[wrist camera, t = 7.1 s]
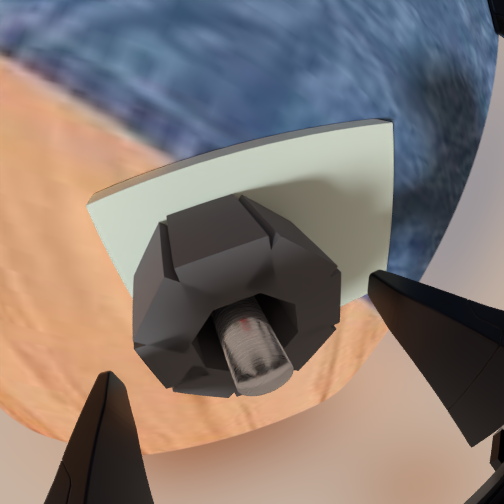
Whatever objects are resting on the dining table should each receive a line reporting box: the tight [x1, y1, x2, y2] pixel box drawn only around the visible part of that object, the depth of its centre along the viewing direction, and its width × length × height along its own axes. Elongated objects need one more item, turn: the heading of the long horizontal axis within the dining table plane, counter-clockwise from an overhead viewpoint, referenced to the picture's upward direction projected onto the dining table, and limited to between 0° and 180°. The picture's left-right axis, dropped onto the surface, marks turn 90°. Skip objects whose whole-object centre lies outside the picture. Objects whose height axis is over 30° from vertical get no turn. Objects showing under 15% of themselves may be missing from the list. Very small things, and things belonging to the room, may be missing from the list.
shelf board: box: [86, 119, 394, 307], centre depth 12 cm, size 12×9×1 cm
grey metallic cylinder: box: [211, 295, 294, 396], centre depth 9 cm, size 2×2×6 cm
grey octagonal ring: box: [133, 194, 341, 398], centre depth 9 cm, size 6×6×3 cm
